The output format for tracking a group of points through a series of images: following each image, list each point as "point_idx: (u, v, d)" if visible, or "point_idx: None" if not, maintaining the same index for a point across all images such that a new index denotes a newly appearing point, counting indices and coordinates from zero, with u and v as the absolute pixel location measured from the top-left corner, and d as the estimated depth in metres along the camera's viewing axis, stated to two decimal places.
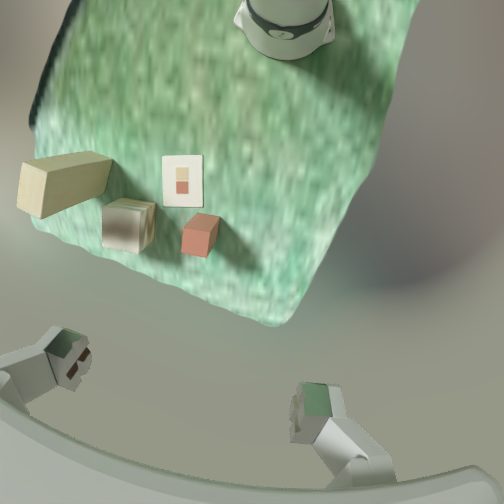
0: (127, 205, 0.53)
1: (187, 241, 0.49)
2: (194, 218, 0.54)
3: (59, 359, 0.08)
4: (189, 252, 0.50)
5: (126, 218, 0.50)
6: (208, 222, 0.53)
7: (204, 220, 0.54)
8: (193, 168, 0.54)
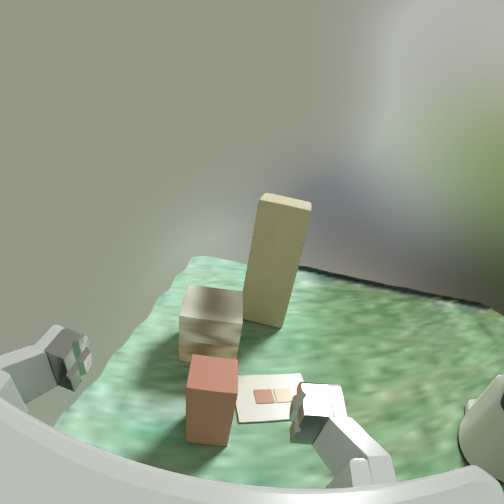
0: None
1: (214, 363, 0.27)
2: None
3: (59, 359, 0.08)
4: (193, 364, 0.26)
5: (230, 310, 0.39)
6: None
7: None
8: None
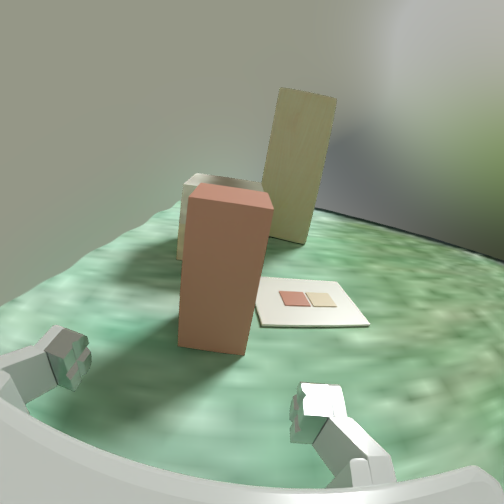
0: None
1: (233, 189, 0.19)
2: None
3: (59, 359, 0.08)
4: (202, 186, 0.18)
5: (248, 188, 0.31)
6: None
7: None
8: (339, 313, 0.26)
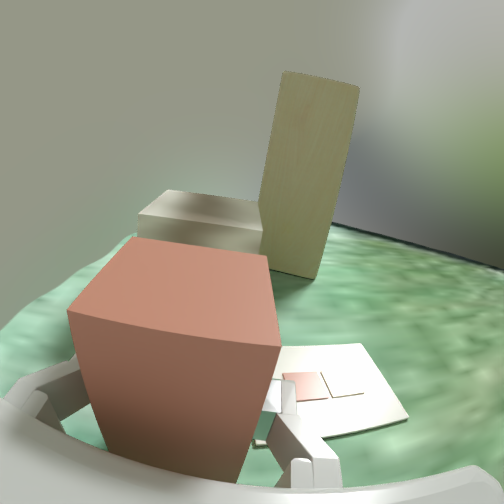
0: None
1: (193, 257, 0.09)
2: None
3: None
4: (126, 254, 0.08)
5: (238, 215, 0.21)
6: None
7: None
8: (368, 404, 0.16)
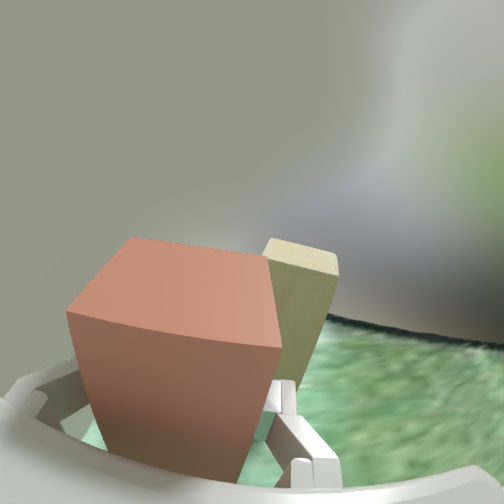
0: None
1: (193, 257, 0.09)
2: None
3: None
4: (126, 255, 0.08)
5: None
6: None
7: None
8: None
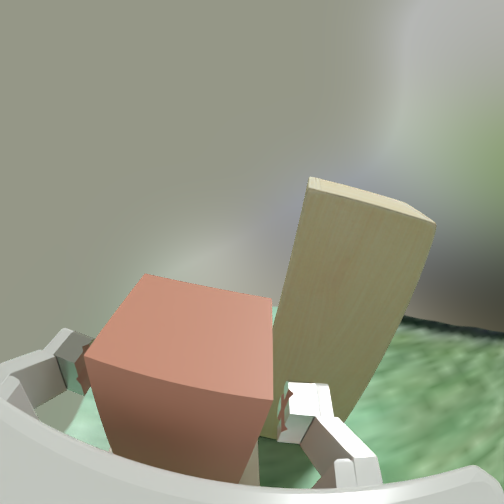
0: None
1: (201, 300, 0.09)
2: None
3: (69, 363, 0.08)
4: (138, 295, 0.09)
5: None
6: None
7: None
8: None
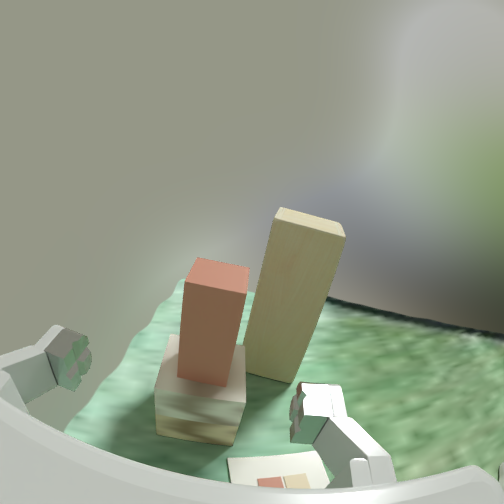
0: None
1: (221, 267, 0.24)
2: None
3: (59, 359, 0.08)
4: (197, 264, 0.24)
5: (228, 378, 0.26)
6: None
7: None
8: None
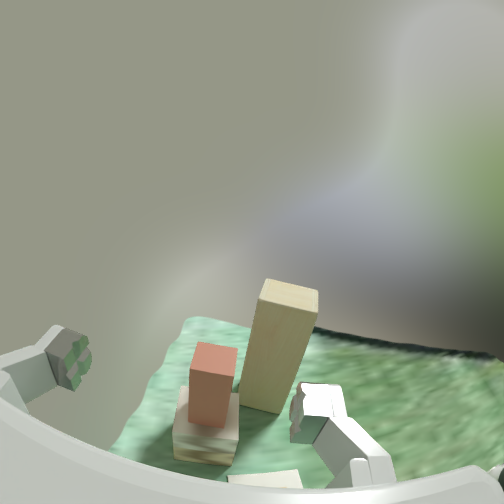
0: None
1: (216, 350, 0.31)
2: None
3: (59, 359, 0.08)
4: (198, 350, 0.31)
5: (226, 421, 0.33)
6: None
7: None
8: None
